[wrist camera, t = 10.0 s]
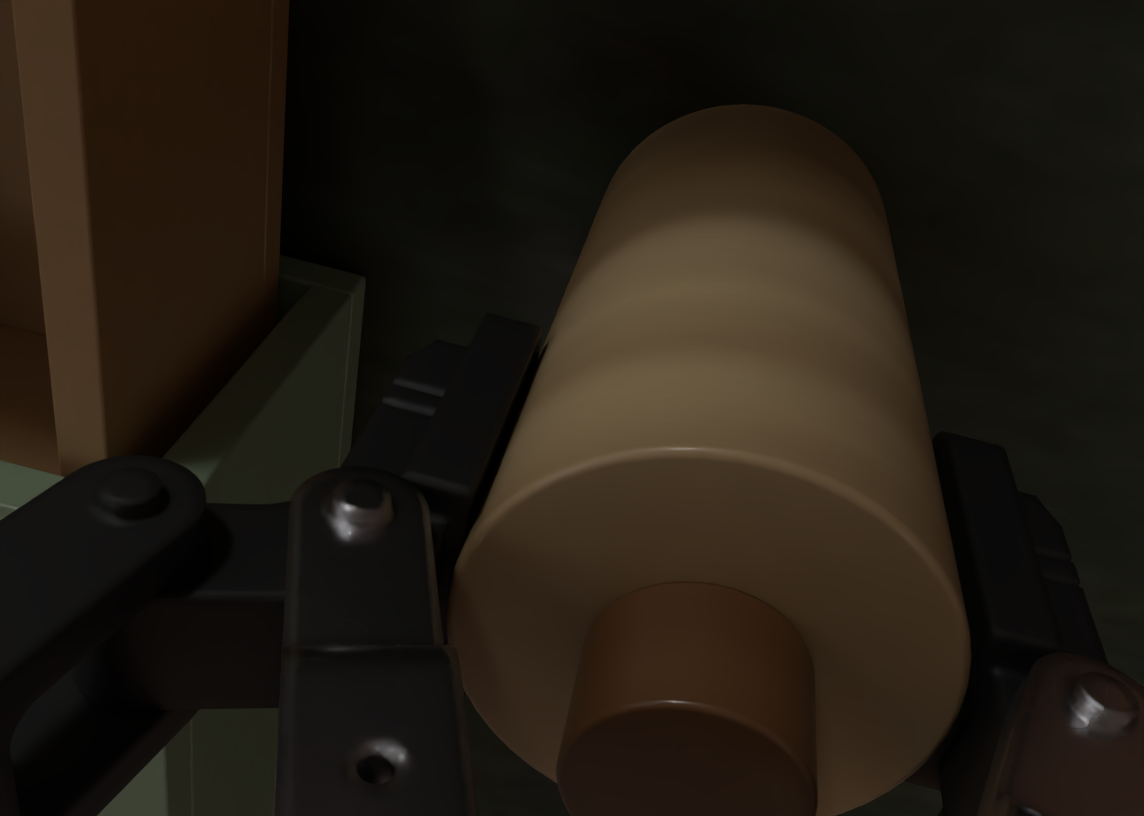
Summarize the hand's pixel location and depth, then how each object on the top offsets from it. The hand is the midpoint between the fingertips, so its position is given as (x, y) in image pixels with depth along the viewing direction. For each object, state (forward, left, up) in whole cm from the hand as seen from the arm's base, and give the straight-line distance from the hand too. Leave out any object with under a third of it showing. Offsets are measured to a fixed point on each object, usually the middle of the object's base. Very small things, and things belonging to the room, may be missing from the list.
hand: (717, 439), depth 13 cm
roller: (0, 0, -6) cm, 6 cm away
